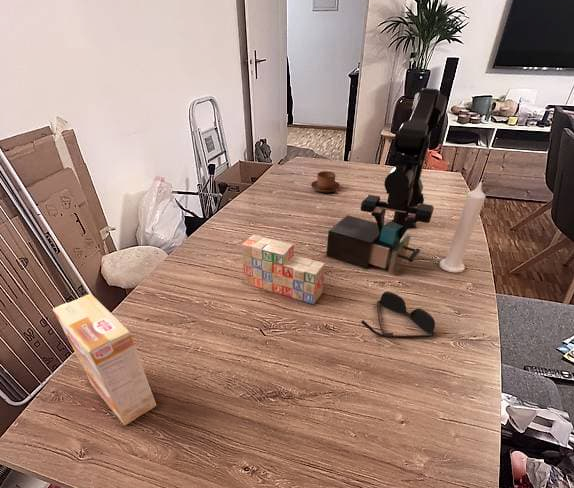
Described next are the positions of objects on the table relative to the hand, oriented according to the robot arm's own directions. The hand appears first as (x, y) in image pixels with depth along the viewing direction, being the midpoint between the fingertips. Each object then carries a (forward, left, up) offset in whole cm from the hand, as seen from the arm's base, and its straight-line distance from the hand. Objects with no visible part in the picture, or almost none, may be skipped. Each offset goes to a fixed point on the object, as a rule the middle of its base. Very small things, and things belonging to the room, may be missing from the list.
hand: (390, 236), depth 108 cm
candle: (-19, +6, -9) cm, 22 cm away
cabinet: (+7, -7, -9) cm, 13 cm away
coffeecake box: (+72, +37, -9) cm, 82 cm away
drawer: (0, 0, -8) cm, 8 cm away
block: (0, 0, -1) cm, 1 cm away
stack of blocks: (+33, +7, -9) cm, 35 cm away
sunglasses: (+11, +29, -9) cm, 32 cm away
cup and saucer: (+1, -60, -9) cm, 61 cm away
